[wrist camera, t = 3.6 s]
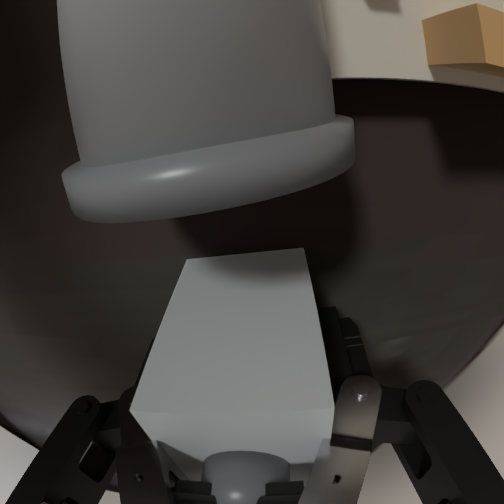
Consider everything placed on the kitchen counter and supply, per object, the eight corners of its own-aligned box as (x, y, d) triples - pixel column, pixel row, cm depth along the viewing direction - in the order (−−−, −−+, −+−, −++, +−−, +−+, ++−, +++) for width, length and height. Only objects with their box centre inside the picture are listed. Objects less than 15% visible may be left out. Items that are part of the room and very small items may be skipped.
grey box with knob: (187, 258, 12) (110, 468, 5) (303, 247, 12) (344, 474, 4) (217, 363, 15) (192, 529, 8) (308, 357, 15) (325, 529, 7)
